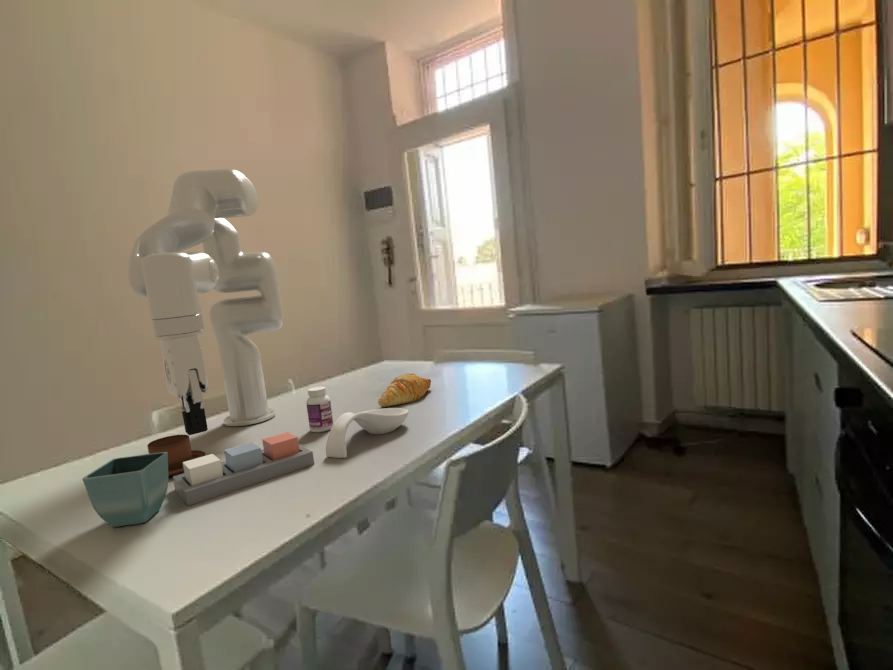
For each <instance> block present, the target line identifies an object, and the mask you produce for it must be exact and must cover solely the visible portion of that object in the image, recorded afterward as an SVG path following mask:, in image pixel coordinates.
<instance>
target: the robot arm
mask: <svg viewBox="0 0 893 670" xmlns="http://www.w3.org/2000/svg"><path fill="white" fill-rule="evenodd" d="M258 206H259V199H258V194H257V190H256V188H255V186H254V184H253V183H252V181H251V180H250V179H249V178H248V177H246V175H245V174H244V173H242V172H241V171H239V170H237V169H232V168H218V169H216V168H215V169H202V170H200V169H199V170H190V171H186V172H183V173H181V174H179V175H178V176H177V177H176V179H175V181H174V183H173V187H172V191H171V195H170V202H169V207H168V211H167V215H165V216H163V217H162V218H161V219H159V220H157V221H156V222H155V223H154V224H152V225H150V226H149V227H147V229H145V230H144V231H143V232H142V233H141V234H140V235H139V236H138V237H137V238H136V239H135V241H134V243H133V244H132V248H131V253H130V256H129V261H128V268H127V279H128V283H129V287H130V288H131V290H132V291H133V293H134V294H136V295H137V296H139V297H140V298H143V299H147V303H148V310H149V315H150V319H151V325H152V331H153V336H154V340H156V341H157V340H158V341H159V340H160V348H161V351H160V352H161V357H162V364H163V366H162V367H163V372H164V380H165V388H166V391H167V392H168V393H169V394H170V395H172V396H173V397H176V398H178V399H179V400H180V406H181V409H182V411H181V412H182V413H181V414H182V419H183V426H184V430H185V434H186V435H188V436H193V435H196V434H200V433H204V432H207V431H208V423H207V416H206V410H205V406H204V401H203V400H204V399H203V393H204V394H205V393H206V392H208V390H209V381H208V374H207V369H206V368H207V367H206V364H205V363H206V362H205V358H204V353H203V349H202V344H201V340H200V336H199V335H200V334H201V335H202V334H204V333H205V328H204V321H203V316H202V311H201V303H200V298H199V295H201V294H206V293H208V292H210V291H212V290H213V291H215V292H217V293H220V294H233V293H241V292H242V293H243V292H252V291H253V292H254V291H258V293H260V295H259V294H258V295H252V296H250V295H249V296H238V297H230V298H229V297H228V298H225V299H220V300H218V301H215V302H214V303H213V304H212V305H211V306H210V307H209V308H210V309H209V310H208V311H209V312H208V313H209V315H208V316H209V320H210V324H211V327H212V330H213V333H214V336H215V339H216V343H217V347H218V353H219V357H220V363H221V364H220V365H221V369H222V375H223V376H222V377H223V383H224V388H225V389H224V390H225V394H226V401H227V406H228V414H229V415H227V416H226V417H225V418H224V419H223V424H224V426H227V427H245V426H249V425H255V424H259V423H262V422H263V423H264V422H266V421H268V420H270V419H272V418H274V417H275V416H276V410H275V409H274V408H269V404H268V399H267V398H268V397H267V391H266V383H265V377H264V372H263V371H264V370H263V364H262V358H261V352H260V350H259V349H260V348H259V347H258V345H257V344H255V343H254V342H253V341H252V340H251V339H250V338H249V337H248V335H252V334H253V335H254V334H261V333H268V332H270V333H271V332H275V331H278V330H280V329H282V327H283V325H284V320H285V316H284V309H283V302H282V295H281V291H280V284H279V278H278V272H277V269H276V264H275V260H274V259H273V258H272V256H271V255H270V254H269V253H267V252H264V251H252V252H243V251H242V247H241V242H240V236H239V232H238V231H237V229H236V228H235V227H234V225H232V224H231V222H229V221H228V220H227V219H228V218H229V219H231V218H242V217H243V218H244V217H251V216H253V215H254V214H256V212H257V210H258ZM201 244H202V249H203V252H202V251H188V252H184V251H186V250H189V249H191V248H194V247H196V246H198V245H201Z"/></svg>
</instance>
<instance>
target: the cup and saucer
mask: <svg viewBox="0 0 893 670" xmlns="http://www.w3.org/2000/svg"><path fill="white" fill-rule="evenodd" d="M146 447H147V450H148V454H153V453H161V452H168V477H171V476H172V477H173V476H176V475H179V474H183V473H184V468H183V462H185V461H189V460H192V459H196V458H199V457H203V456H206V453H205V451H203V450H196V449H195V450H193V449H192V446H191V439H190V435H188V434H173V435H168V436H164V437H160V438H158V439H157V438H156V439H155V440H154V439H153V440H152V441H150V442H149V443H147V445H146Z"/></svg>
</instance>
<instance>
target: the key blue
mask: <svg viewBox="0 0 893 670" xmlns="http://www.w3.org/2000/svg"><path fill="white" fill-rule="evenodd" d="M261 450H262V448H261V447H260V446H258V445H257V444H255V443H253V442H248V443H245V444H241V445H237V446H234V447H231V448H227V449H223V452H224V458H225V461H226V465H227V467H229V468H230V469H231V470H232V471H234V472H238V471H241V470H244V469H247V468H251V467H254V466H257V465H260V464H263V459H262V453H261Z"/></svg>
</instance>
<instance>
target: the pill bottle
mask: <svg viewBox="0 0 893 670" xmlns="http://www.w3.org/2000/svg"><path fill="white" fill-rule="evenodd" d="M307 393H308V394H307V395H308V398H307V400H306V403H305V404H306V411H307V416H308V425H309V430H310V432H312V433H323V432H327V431H331V428H332V426H333V425H334V419H333V412H332V411H333V410H332V402H331V398H330V396H329V395H326V394H327V389H326V387H325V386H315V387H311V388H308V389H307Z"/></svg>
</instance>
